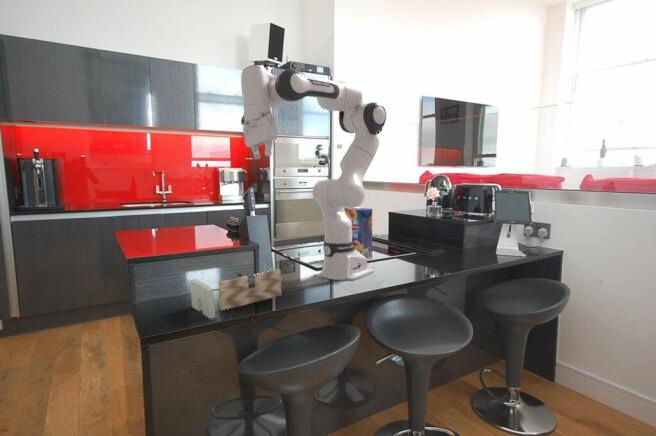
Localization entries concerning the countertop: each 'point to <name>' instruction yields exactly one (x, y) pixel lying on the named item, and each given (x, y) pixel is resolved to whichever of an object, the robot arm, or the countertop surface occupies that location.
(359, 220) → the juice carton
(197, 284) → the sage plate
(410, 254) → the countertop surface
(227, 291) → the brown zigzag slotted board
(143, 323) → the countertop surface
